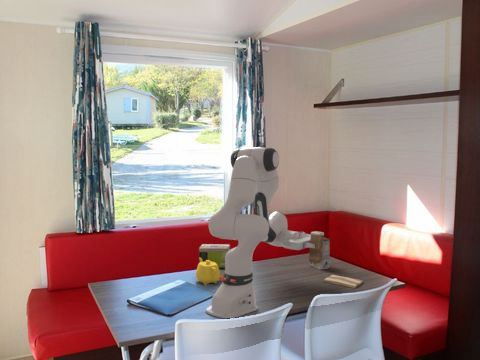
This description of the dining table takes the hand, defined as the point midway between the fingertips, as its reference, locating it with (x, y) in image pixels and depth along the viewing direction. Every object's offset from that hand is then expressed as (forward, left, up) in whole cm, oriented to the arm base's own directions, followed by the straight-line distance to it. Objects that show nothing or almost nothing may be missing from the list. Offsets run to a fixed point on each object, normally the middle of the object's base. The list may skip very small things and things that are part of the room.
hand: (318, 245), depth 224 cm
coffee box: (+29, +13, -20) cm, 37 cm away
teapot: (-26, +46, -20) cm, 57 cm away
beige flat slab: (+12, -8, -19) cm, 24 cm away
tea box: (-14, +51, -20) cm, 57 cm away
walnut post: (0, +1, -8) cm, 8 cm away
